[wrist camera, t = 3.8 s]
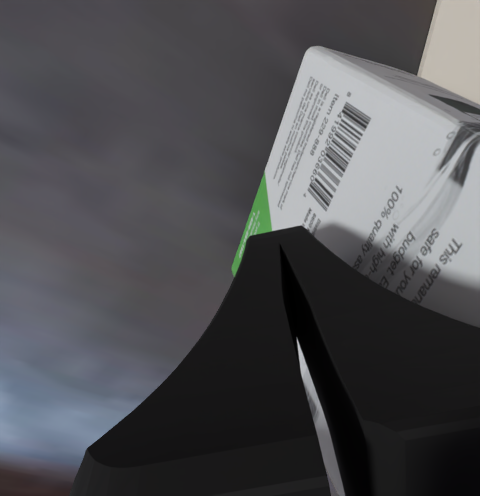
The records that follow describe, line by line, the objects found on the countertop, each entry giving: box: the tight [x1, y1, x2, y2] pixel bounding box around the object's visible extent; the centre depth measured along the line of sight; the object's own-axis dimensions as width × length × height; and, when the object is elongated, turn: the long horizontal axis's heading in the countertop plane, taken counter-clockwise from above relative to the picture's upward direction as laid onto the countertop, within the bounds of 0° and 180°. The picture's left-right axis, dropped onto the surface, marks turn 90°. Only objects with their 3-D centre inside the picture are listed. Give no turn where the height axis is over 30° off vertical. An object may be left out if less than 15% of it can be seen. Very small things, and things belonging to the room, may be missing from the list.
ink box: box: [232, 46, 480, 496], centre depth 12 cm, size 9×5×12 cm, turn 163°
